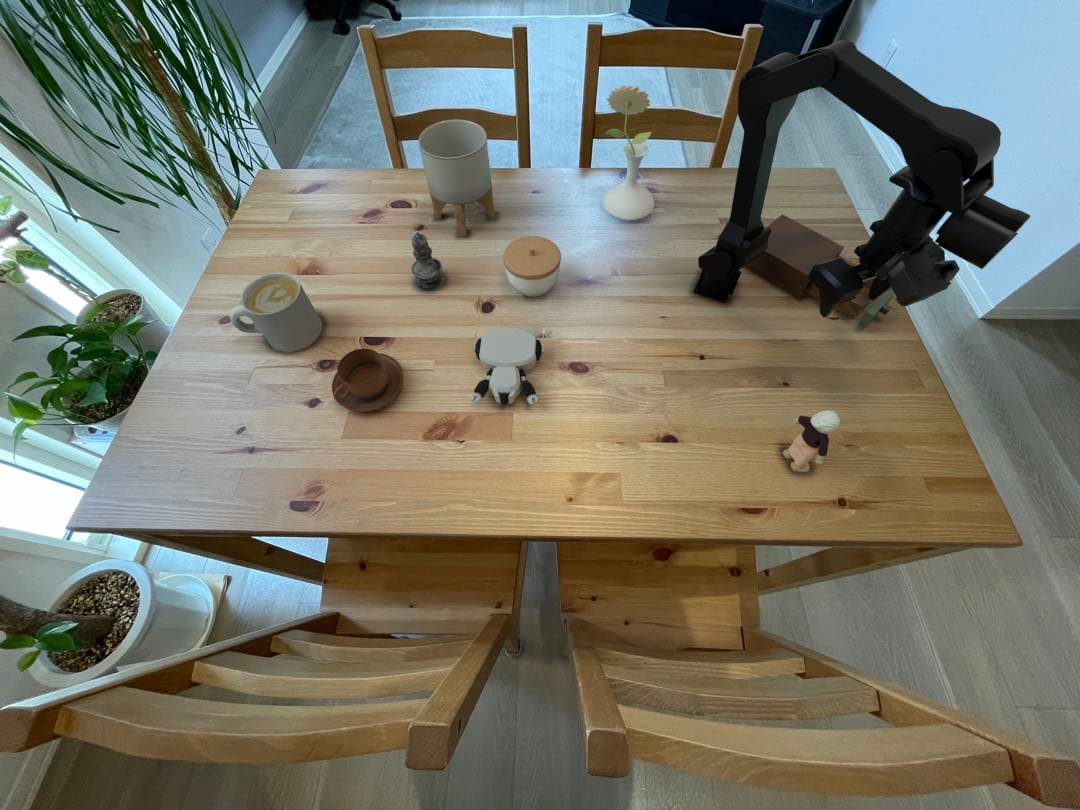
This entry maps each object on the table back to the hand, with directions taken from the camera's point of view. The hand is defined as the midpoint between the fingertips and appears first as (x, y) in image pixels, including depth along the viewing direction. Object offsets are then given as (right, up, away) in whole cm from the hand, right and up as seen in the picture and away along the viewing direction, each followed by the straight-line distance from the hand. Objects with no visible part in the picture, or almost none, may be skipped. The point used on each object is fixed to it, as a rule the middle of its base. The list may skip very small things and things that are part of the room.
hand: (847, 307), depth 80 cm
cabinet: (+1, +13, +23) cm, 26 cm away
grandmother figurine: (-8, -24, +1) cm, 25 cm away
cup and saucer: (-77, -12, +9) cm, 79 cm away
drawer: (+10, +5, +17) cm, 20 cm away
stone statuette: (-70, +9, +22) cm, 74 cm away
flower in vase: (-29, +28, +34) cm, 53 cm away
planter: (-64, +26, +33) cm, 77 cm away
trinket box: (-49, +8, +21) cm, 54 cm away
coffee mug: (-95, -2, +16) cm, 97 cm away
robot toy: (-54, -10, +10) cm, 55 cm away
